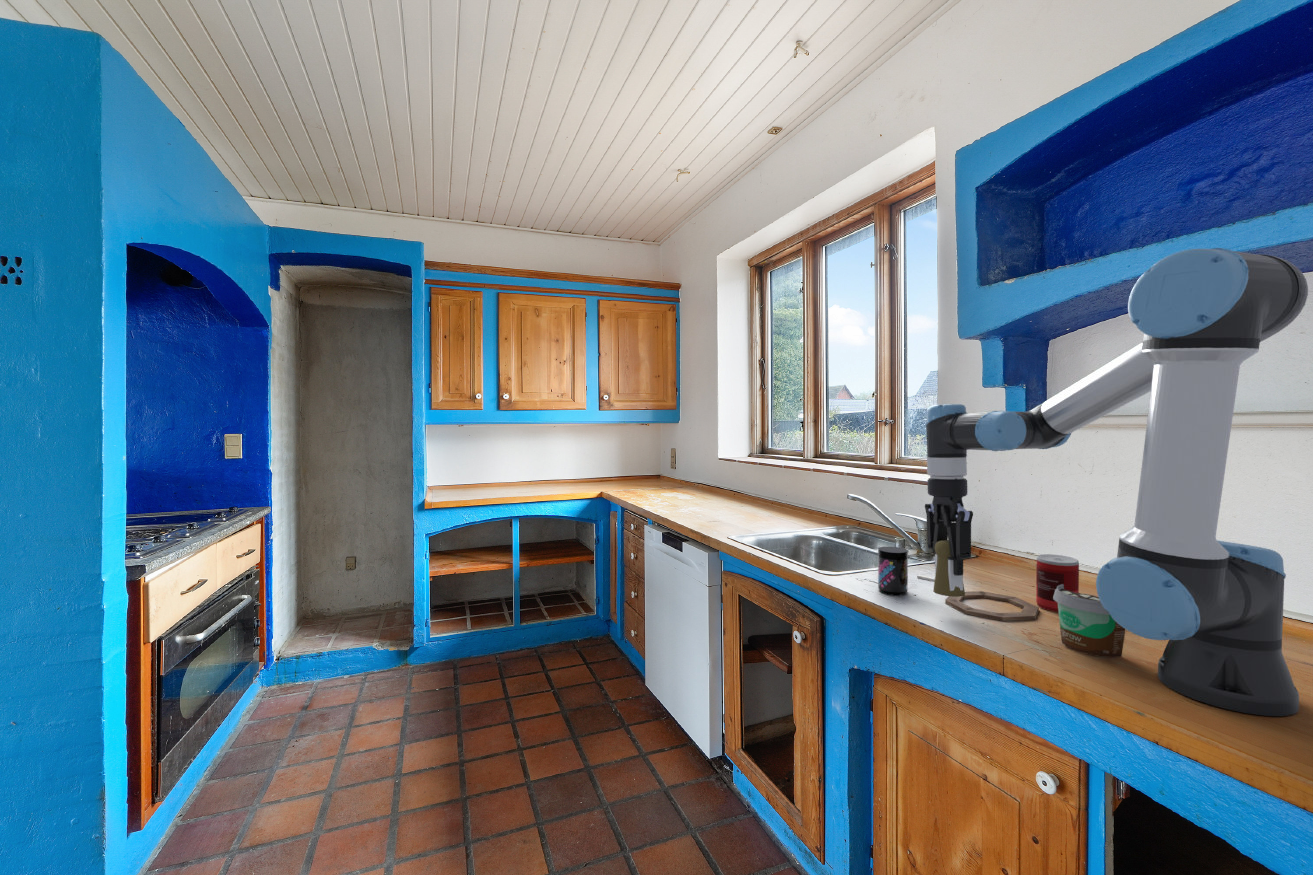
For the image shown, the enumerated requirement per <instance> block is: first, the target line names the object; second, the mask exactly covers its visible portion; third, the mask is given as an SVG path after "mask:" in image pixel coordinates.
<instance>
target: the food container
mask: <svg viewBox="0 0 1313 875" xmlns="http://www.w3.org/2000/svg"><path fill="white" fill-rule="evenodd" d="M1053 599H1054V600H1055V601H1056V602H1058V611H1059V612H1058V618H1059V619H1058V620H1059V630H1060V639H1061V641H1060V642H1061V643H1062V645H1064V646H1065V647H1067V648H1068V649H1070V650H1073V651H1076V652H1079V653H1082V654H1087V655H1089V656H1090V655H1091V656H1095V657H1101V658H1102V657H1103V658H1121V657H1123V649H1124V643H1125V636H1126V635H1125V634H1126V629H1125V628H1123V627H1122V626H1120V625H1119V624H1118V623H1117V622H1116V621H1114V619H1113V618H1112V617H1111V615H1110V614H1109V612H1108V611H1107V610H1105V609H1104V607H1103V605H1102V604H1101V602H1100V600H1099V597H1098V596H1096V595H1094V594H1087V593H1076V592H1072V591H1068V590H1065V589H1064V585H1063V584H1062V585H1059V586H1057V589H1056V590H1055V593H1054V596H1053Z"/></svg>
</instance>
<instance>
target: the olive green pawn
mask: <svg viewBox="0 0 1313 875" xmlns="http://www.w3.org/2000/svg"><path fill="white" fill-rule="evenodd" d="M935 552H936V554H937V555H938V559H937V567H936V575H935V577H934V578H935V581H934V583H933V592H934V593H935V594H936V595H941V596H945V597H948V596H951V597H959V596H964V595H965V591H966V590H965V585H964V584H965V583H963V590H960V588H959V587H956V586H955V589H954V591H950V585H949V575H948V558H947V557H951V555H950V548H949V540H948V539H947V540H942V541H938V542H937V543H936V544H935Z"/></svg>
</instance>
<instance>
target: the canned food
mask: <svg viewBox="0 0 1313 875" xmlns="http://www.w3.org/2000/svg"><path fill="white" fill-rule="evenodd" d="M1035 567H1036V568H1035V570H1036V573H1035V574H1036V583H1035V584H1036V587H1035V588H1036V589H1035V590H1036V591H1035V600H1036V606H1038V607H1039V608H1040V609H1044V610H1046V611H1050V612H1054V613H1059V611H1058V602H1056V601H1055V600H1054V599H1053V596H1054V593H1055V590H1056V589H1057V586H1059V585H1062V584H1063V585H1064V589H1065V590H1068V591H1072V592H1076V593H1079V590H1080V588H1079V587H1080V584H1079V583H1080V563H1079V560H1078V559H1077V558H1074V557H1071V556H1067V555H1062V554H1049V553H1048V554H1045V553H1044V554H1039V555H1037V556H1036V566H1035Z"/></svg>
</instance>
